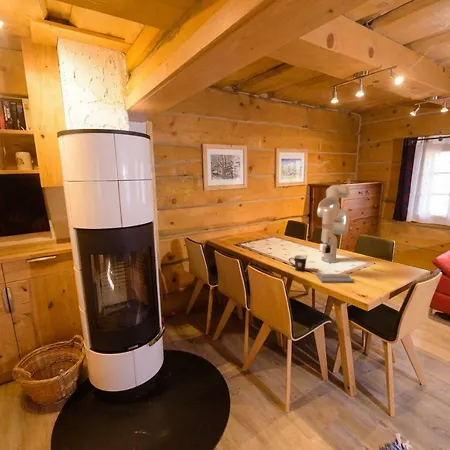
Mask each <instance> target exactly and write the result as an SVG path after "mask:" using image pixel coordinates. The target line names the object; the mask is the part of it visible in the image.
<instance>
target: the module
mask: <svg viewBox="0 0 450 450" xmlns="http://www.w3.org/2000/svg"><path fill="white" fill-rule="evenodd" d="M327 245H328V244H327ZM325 249H326V244H323V243H320V244H319V252H320V253H321V254H322V255H324V254H333V245H332V244H331V249H330V253H325Z"/></svg>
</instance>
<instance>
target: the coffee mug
mask: <svg viewBox="0 0 450 450" xmlns="http://www.w3.org/2000/svg"><path fill="white" fill-rule="evenodd" d="M292 259H293V261H294V263H293V262H292V261H291V260H292ZM288 261H289V264H291V265H292V266H294V268H295V271H296V272H301V273H302V272H305V271H306V270H305V269H306V264H307V256H305V255H301V254H300V255H299V254H298V255H294V257H290V258H289V259H288Z"/></svg>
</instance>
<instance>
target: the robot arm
mask: <svg viewBox="0 0 450 450" xmlns="http://www.w3.org/2000/svg"><path fill="white" fill-rule="evenodd" d="M350 193H351V191H350V187H349V186H348V185H346V184H344V185H343V184H333V185H330V186H329V187H327V188H326V191H325V196H326V197H324V198H323V199H322V200H321V201H320V202H319V203H318V206H317V210H316V214H317V217H318V218H321V219H322V222H321V223H322V224H321V229H322V230H321V235H320V236H321V237H320V241H321V242H322V244H326V249H325V253H330V249H331V244H332V245H333V254H323V256H322V257H321V261H322V262H325V263H330V264H331V263H338V262H339V259H338V258H337V250H338V248H337V247H338V238H337V236H336V235H341V236H345V235H347V234H348V232H349V224H350V223H349V221H350V212H349V210H347V209H341V203H340V202H339V200H340V199H348V198H349V197H350ZM327 244H328V245H327Z"/></svg>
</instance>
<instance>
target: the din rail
mask: <svg viewBox="0 0 450 450" xmlns="http://www.w3.org/2000/svg"><path fill="white" fill-rule="evenodd" d="M319 274H320V277H321V278H349V277H350V275H349V273H319Z"/></svg>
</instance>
